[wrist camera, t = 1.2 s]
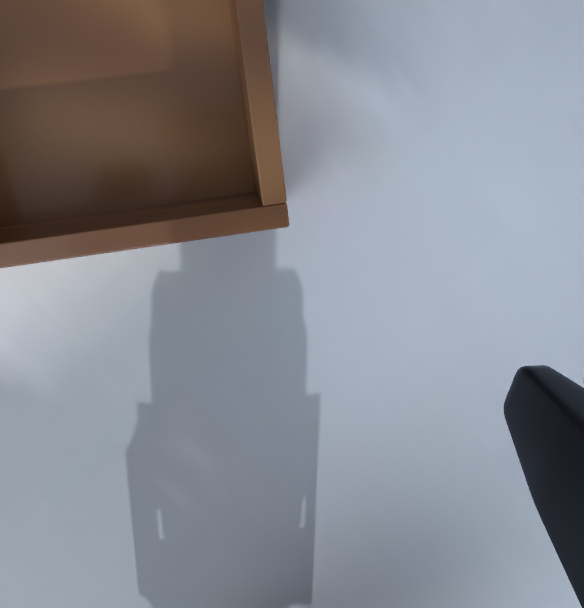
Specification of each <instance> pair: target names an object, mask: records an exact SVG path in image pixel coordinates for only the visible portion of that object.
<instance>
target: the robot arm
mask: <svg viewBox="0 0 584 608" xmlns="http://www.w3.org/2000/svg"><path fill="white" fill-rule="evenodd" d="M504 415H505V419H506V422H507V425H508V428H509V431H510V434H511V437H512V440H513V443H514V446H515V448H516V451H517V454H518V457H519V460H520V463H521V466H522V469H523V472H524V475H525V478H526V481H527V484H528V487H529V490H530V492H531V495H532V498H533V500H534V503H535V505H536V508H537V510H538V512H539V515H540V517H541V519H542V521H543V524H544V526H545V528H546V530H547V532H548V535H549V537H550V539H551V541H552V543H553V545H554V548H555V550H556V552H557V554H558V556H559V558H560V561H561V563H562V565H563V567H564V569H565V571H566V574H567V576H568V578H569V580H570V582H571V585H572V587H573V589H574V591H575V593H576V595H577V598H578V600H579V602H580V604H581V606H582V608H584V388H583V387H581V386H579V385H578V384H576V383H575V382H573V381H571V380H570V379H568V378H567V377H565V376H563V375H562V374H560V373H558V372H557V371H555V370H554V369H552V368H550V367H548V366H544V365H538V366H523V367H521V368H520V369H519V370H518V371H517V372H516V375H515V377H514V380H513V382H512V384H511V387H510V389H509V392H508V394H507V397H506V399H505V403H504Z"/></svg>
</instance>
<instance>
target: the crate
mask: <svg viewBox="0 0 584 608" xmlns="http://www.w3.org/2000/svg"><path fill="white" fill-rule="evenodd" d="M288 226H289V218H288V210H287V204H286V193H285V184H284V176H283V167H282V159H281V151H280V142H279V134H278V126H277V117H276V109H275V100H274V92H273V84H272V75H271V67H270V58H269V50H268V42H267V33H266V25H265V17H264V8H263V0H0V268H5V267H12V266H19V265H26V264H33V263H40V262H47V261H54V260H61V259H68V258H75V257H82V256H89V255H96V254H103V253H110V252H117V251H124V250H131V249H138V248H145V247H152V246H159V245H165V244H172V243H179V242H186V241H193V240H200V239H207V238H214V237H221V236H228V235H235V234H242V233H249V232H256V231H263V230H270V229H277V228H284V227H288Z"/></svg>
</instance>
